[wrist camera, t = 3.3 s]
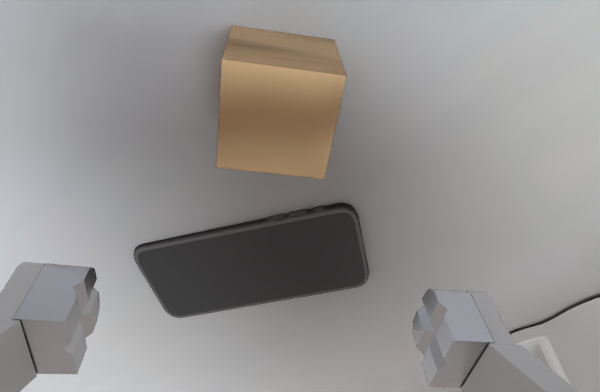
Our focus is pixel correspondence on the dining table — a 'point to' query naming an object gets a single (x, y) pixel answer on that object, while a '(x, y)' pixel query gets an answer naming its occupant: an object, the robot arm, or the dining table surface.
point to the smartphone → (257, 261)
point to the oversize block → (278, 102)
